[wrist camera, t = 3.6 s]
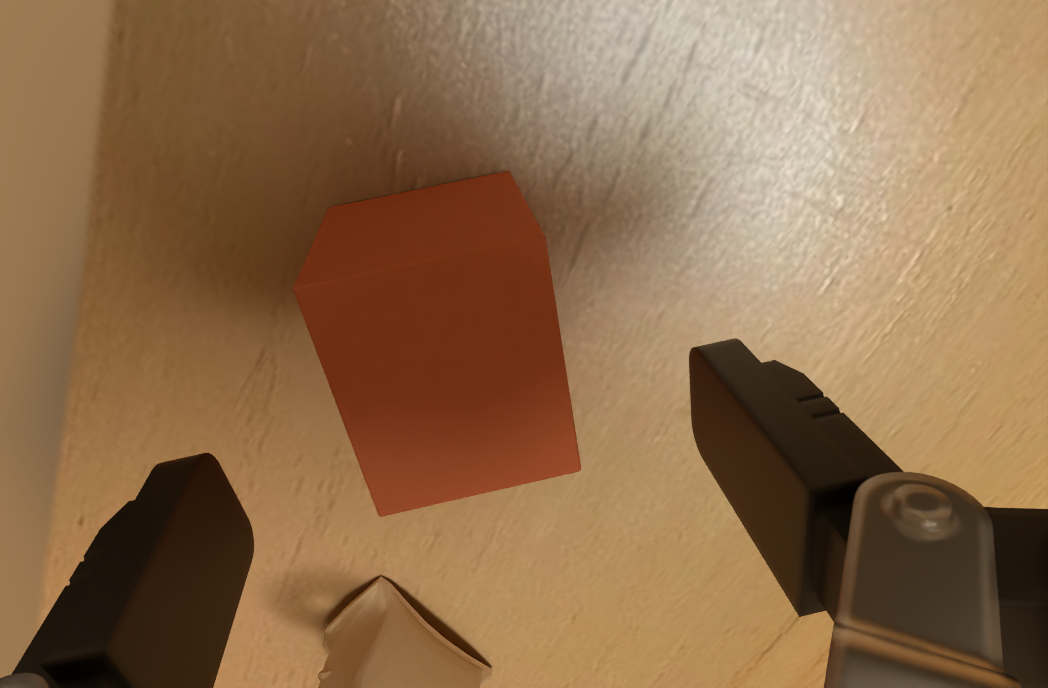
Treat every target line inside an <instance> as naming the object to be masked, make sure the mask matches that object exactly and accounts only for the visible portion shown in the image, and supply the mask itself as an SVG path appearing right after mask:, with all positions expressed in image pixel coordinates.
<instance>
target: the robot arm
mask: <svg viewBox="0 0 1048 688" xmlns="http://www.w3.org/2000/svg"><path fill="white" fill-rule="evenodd" d="M689 372H690V396H691V420H692V429H693V434H694V438H695V441H696V444H697V447H698V450H699V452H700V454H701V456H702V458H703V460H704V462H705V463H706V465H707V467H708V468H709V470H710V471H711V473H712V475H713V476H714V478H715V480H716V481H717V483H718V485H719V486H720V488H721V489H722V491H723V493H724V494H725V496H726V498H727V499H728V501H729V503H730V504H731V506H732V507H733V509H734V511H735V512H736V514H737V516H738V517H739V519H740V521H741V522H742V524H743V525H744V527H745V529H746V530H747V532H748V534H749V535H750V537H751V539H752V540H753V542H754V543H755V545H756V547H757V548H758V550H759V552H760V553H761V555H762V557H763V558H764V560H765V561H766V563H767V565H768V566H769V568H770V570H771V571H772V573H773V575H774V576H775V578H776V579H777V581H778V583H779V584H780V586H781V588H782V589H783V591H784V593H785V594H786V596H787V597H788V599H789V601H790V602H791V604H792V606H793V607H794V609H795V611H796V612H797V614H798V615H799V617H801V616H805V615H809V614H813V613H817V612H822V611H827V612H828V614H829V615H830V617H831V618H832V620H833V621H834V626H833V632H832V638H831V645H830V651H829V657H828V664H827V670H826V677H825V683H824V688H1048V509H1024V508H993V507H983V506H982V505H981V504H980V503H979V502H978V501H977V500H976V499H975V498H974V497H973V496H971V495H970V494H969V493H967V492H966V491H965V490H963V489H961V488H959V487H958V486H956V485H954V484H952V483H949V482H947V481H945V480H942V479H939V478H936V477H933V476H929V475H925V474H920V473H913V472H903V471H902V470H901V469H900V468H899V467H898V466H897V465H896V464H895V463H894V462H893V461H892V460H891V459H890V458H889V457H888V456H887V455H886V454H885V453H884V452H883V451H882V450H881V449H880V448H879V447H878V446H877V445H876V444H875V443H874V442H873V441H872V440H871V439H870V438H869V437H868V436H867V435H866V434H865V433H864V432H863V431H862V430H861V429H860V428H859V427H858V426H856V425H855V424H854V423H853V422H852V421H851V420H850V419H849V418H848V417H847V416H846V415H845V414H844V413H840V411H839V408H838V407H837V406H836V405H835V404H834V403H833V402H832V401H831V400H830V399H829V398H828V397H824V396H823V392H822V391H821V390H820V389H819V388H818V387H817V386H816V385H815V384H814V383H813V382H812V381H811V380H809V379H808V378H807V377H806V376H805V375H804V374H803V373H801V372H799V371H797V370H795V369H793V368H790V367H788V366H786V365H784V364H782V363H780V362H778V361H776V360H773V361H769V362H764V363H761V362H760V361H759V360H758V359H757V358H756V357H755V356H754V355H753V354H752V353H751V351H750V350H749V349H748V348H747V347H746V346H745V345H744V344H743V343H742V342H741V341H740V340H738V339H736V338H734V339H730V340H725V341H721V342H716V343H712V344H707V345H702V346H698V347H694V348H692V349H691V351H690V354H689ZM253 553H254V538H253V531H252V527H251V524H250V521H249V519H248V517H247V515H246V513H245V511H244V509H243V507H242V505H241V504H240V502H239V500H238V498H237V496H236V494H235V492H234V490H233V488H232V486H231V485H230V483H229V481H228V479H227V477H226V475H225V473H224V471H223V469H222V467H221V466H220V464H219V462H218V460H217V459H216V458H215V457H214V456H213V455H211V454H210V453H203V454H198V455H194V456H189V457H185V458H180V459H176V460H171V461H166V462H162V463H159V464H157V465H156V466H155V467H154V468H153V470H152V471H151V473H150V475H149V476H148V478H147V480H146V482H145V483H144V485H143V487H142V488H141V490H140V492H139V494H138V495H137V497H136V499H135V500H133V501H129V502H128V503H127V504H126V505H124V506H123V507H122V508H121V509H120V510H119V511H118V512H117V513H116V514H115V515H114V516H113V517H112V518H111V519H110V520H109V521H108V522H107V523H106V524H105V525H104V526H103V527H102V528H101V529H100V530H99V532H98V534H97V535H96V537H95V539H94V540H93V542H92V544H91V545H90V547H89V548H88V550H87V552H86V553H85V555H84V561H83V562H80V563H79V565H78V566H77V568H76V570H75V571H74V573H73V575H72V576H71V578H70V580H69V581H70V585H69V586H65V588H64V589H63V591H62V593H61V594H60V596H59V598H58V599H57V601H56V602H55V604H54V606H53V607H52V609H51V611H50V612H49V614H48V616H47V617H46V619H45V620H44V622H43V624H42V625H41V627H40V629H39V630H38V632H37V634H36V635H35V637H34V638H33V640H32V642H31V643H30V645H29V647H28V648H27V650H26V652H25V653H24V655H23V657H22V658H21V660H20V661H19V663H18V665H17V666H16V668H15V670H14V671H13V673H12V675H9V676H5V677H3V678H0V688H213V686H214V683H215V680H216V676H217V673H218V670H219V667H220V663H221V660H222V657H223V653H224V650H225V647H226V644H227V640H228V637H229V634H230V631H231V627H232V624H233V621H234V617H235V614H236V611H237V608H238V604H239V601H240V598H241V595H242V591H243V588H244V585H245V581H246V578H247V575H248V572H249V568H250V565H251V562H252V558H253Z"/></svg>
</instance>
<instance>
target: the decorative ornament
mask: <svg viewBox="0 0 1048 688" xmlns="http://www.w3.org/2000/svg"><path fill="white" fill-rule="evenodd" d="M324 635H325V639H324V642H323V645H322V646H323V647H324V648H325V649H326V651H327V652H328V658H327V660H326V662H325V666H324V669H323V670H322V671H321V672H320V673H319V674H318V677H319V680H320V684H319V687H318V688H481V687H482V686H483V685H484V684H485V683H486V682H487V681H488V679H489V678H490V676H491V675H492V669H491V668H489V667H488V666H486V665H484V664H482V663H481V662H479V661H477V660H476V659H474V658H472V657H471V656H469V655H468V654H466V653H465V652H463V651H462V650H460V649H459V648H458V647H456V646H455V645H453V644H452V643H451V642H449V641H448V640H447V639H445V638H444V637H443V636H441V635H440V634H439V633H438V632H437V631H436V630H434V629H433V628H432V627H431V626H430V625H429V624H428V623H427V622H426V621H425V620H424V619H423V618H422V617H421V616H420V615H419V614H418V613H417V612H416V611H415V610H414V609H413V608H412V607H411V605H410V604H409V603H408V602H407V601H406V600H405V599H404V598H403V596H402V595H401V594H400V593H399V592H398V591H397V590H396V589H395V587H394V586H393V585H392V584H391V583H390V582H388V581H387V580H386V579H384V578H383V577H379V578H378V579H377V580H376V581H375V582H374V583H372V584H371V585H370V586H369V587H368V588H367V589H366V590H365V591H363V592H362V593H361V594H360V595H359V596H358V597H357V598H356V599H354V600H353V601H352V602H351V603H350V604H349V605H348V606H346V607H345V608H344V609H343V610H342V612H341V613H340V614H339V615H338V616H337V617H336V618H335V619H334V620H333V621H332V622H330V623H329V625H328V626H327V627H326V629H325V632H324Z"/></svg>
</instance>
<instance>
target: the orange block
mask: <svg viewBox="0 0 1048 688" xmlns="http://www.w3.org/2000/svg"><path fill="white" fill-rule="evenodd" d="M293 291H294V294H295V296H296V299H297V301H298V304H299V307H300V309H301V312H302V315H303V317H304V320H305V323H306V325H307V328H308V330H309V333H310V336H311V338H312V341H313V344H314V346H315V349H316V352H317V354H318V357H319V359H320V362H321V365H322V367H323V370H324V373H325V375H326V378H327V381H328V383H329V386H330V388H331V391H332V394H333V396H334V399H335V402H336V404H337V407H338V410H339V412H340V415H341V417H342V420H343V423H344V425H345V428H346V431H347V433H348V436H349V439H350V441H351V444H352V446H353V449H354V452H355V454H356V457H357V460H358V462H359V465H360V468H361V470H362V473H363V475H364V478H365V481H366V483H367V486H368V489H369V491H370V494H371V497H372V499H373V502H374V504H375V507H376V510H377V512H378V515H379V516H381V517H382V516H386V515H391V514H395V513H399V512H404V511H408V510H413V509H417V508H421V507H426V506H430V505H434V504H439V503H443V502H447V501H452V500H456V499H461V498H465V497H469V496H474V495H478V494H482V493H487V492H491V491H495V490H500V489H504V488H509V487H513V486H517V485H522V484H526V483H530V482H535V481H539V480H544V479H548V478H552V477H557V476H561V475H565V474H570V473H574V472H578V471H580V470H581V464H580V457H579V451H578V444H577V438H576V432H575V425H574V419H573V412H572V406H571V399H570V393H569V386H568V380H567V373H566V367H565V360H564V354H563V348H562V341H561V335H560V328H559V322H558V315H557V309H556V302H555V296H554V289H553V283H552V276H551V270H550V263H549V257H548V251H547V244H546V238H545V236H544V234H543V232H542V230H541V228H540V226H539V225H538V223H537V221H536V219H535V217H534V215H533V214H532V212H531V210H530V208H529V206H528V205H527V203H526V201H525V199H524V197H523V195H522V194H521V192H520V190H519V188H518V186H517V184H516V183H515V181H514V179H513V177H512V175H511V173H510V172H509V171H506V172H501V173H496V174H491V175H486V176H481V177H476V178H471V179H466V180H462V181H457V182H452V183H447V184H442V185H437V186H432V187H427V188H422V189H417V190H412V191H408V192H403V193H398V194H393V195H388V196H383V197H378V198H373V199H368V200H363V201H358V202H354V203H349V204H344V205H339V206H334V207H330V208H328V210H327V213H326V215H325V217H324V219H323V222H322V224H321V226H320V228H319V231H318V233H317V235H316V237H315V240H314V242H313V244H312V247H311V249H310V251H309V253H308V256H307V258H306V260H305V262H304V265H303V267H302V269H301V272H300V274H299V276H298V278H297V281H296V283H295V285H294V287H293Z"/></svg>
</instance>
